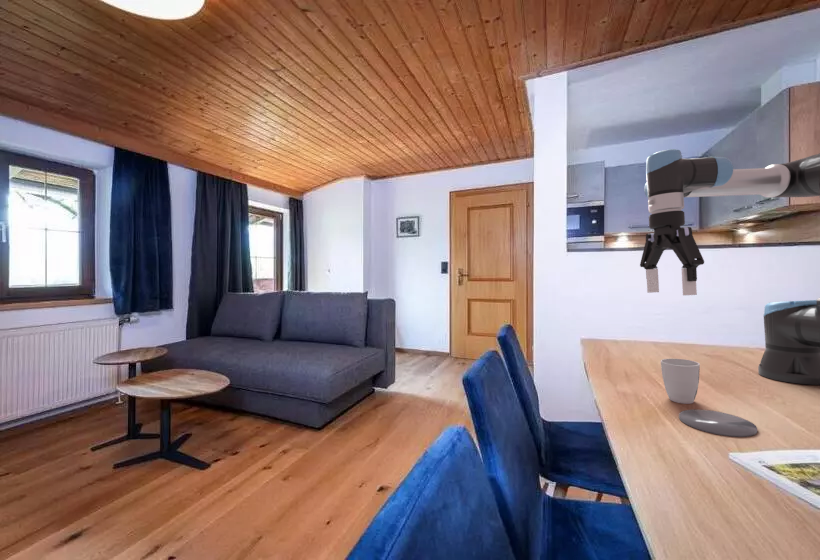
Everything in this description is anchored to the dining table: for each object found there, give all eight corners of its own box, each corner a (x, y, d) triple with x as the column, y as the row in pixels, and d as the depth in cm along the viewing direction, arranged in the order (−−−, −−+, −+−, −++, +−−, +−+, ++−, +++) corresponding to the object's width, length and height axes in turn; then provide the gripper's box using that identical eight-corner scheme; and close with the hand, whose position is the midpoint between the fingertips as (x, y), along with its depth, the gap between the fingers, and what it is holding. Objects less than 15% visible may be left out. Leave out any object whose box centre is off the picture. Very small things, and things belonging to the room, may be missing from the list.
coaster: (716, 410, 85) (716, 407, 85) (775, 434, 72) (775, 431, 72) (664, 413, 84) (664, 411, 84) (715, 438, 71) (715, 436, 71)
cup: (708, 406, 87) (707, 366, 87) (671, 405, 89) (670, 366, 89) (689, 395, 95) (688, 358, 95) (656, 394, 97) (654, 358, 97)
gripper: (624, 220, 104) (627, 292, 104) (686, 203, 79) (691, 297, 80) (650, 218, 104) (653, 290, 104) (721, 201, 79) (725, 295, 79)
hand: (670, 293), depth 92 cm, fingers open, 13 cm apart
